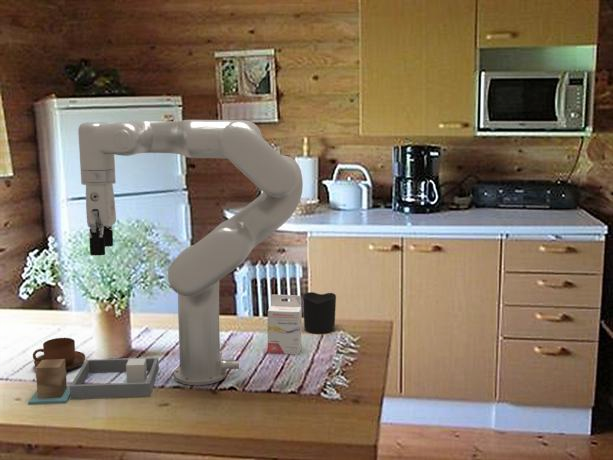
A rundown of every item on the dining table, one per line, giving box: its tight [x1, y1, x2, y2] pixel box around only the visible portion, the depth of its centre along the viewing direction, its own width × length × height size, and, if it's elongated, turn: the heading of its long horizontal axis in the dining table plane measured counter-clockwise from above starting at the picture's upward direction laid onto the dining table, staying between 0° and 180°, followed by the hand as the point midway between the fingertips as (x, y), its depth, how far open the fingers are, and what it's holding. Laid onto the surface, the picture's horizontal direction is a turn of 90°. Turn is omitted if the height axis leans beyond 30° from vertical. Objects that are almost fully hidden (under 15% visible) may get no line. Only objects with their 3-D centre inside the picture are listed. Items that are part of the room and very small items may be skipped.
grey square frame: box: [69, 357, 160, 400], centre depth 160 cm, size 17×16×3 cm
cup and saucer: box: [32, 337, 86, 371], centre depth 171 cm, size 12×12×6 cm
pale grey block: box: [125, 359, 148, 383], centre depth 161 cm, size 4×4×5 cm
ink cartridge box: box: [267, 294, 303, 355], centre depth 180 cm, size 9×5×15 cm, turn 84°
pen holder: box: [302, 291, 337, 335], centre depth 198 cm, size 9×9×10 cm
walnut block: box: [35, 359, 68, 399], centre depth 153 cm, size 5×5×7 cm
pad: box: [28, 385, 71, 405], centre depth 153 cm, size 8×8×1 cm
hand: (102, 250), depth 161 cm, fingers open, 9 cm apart
